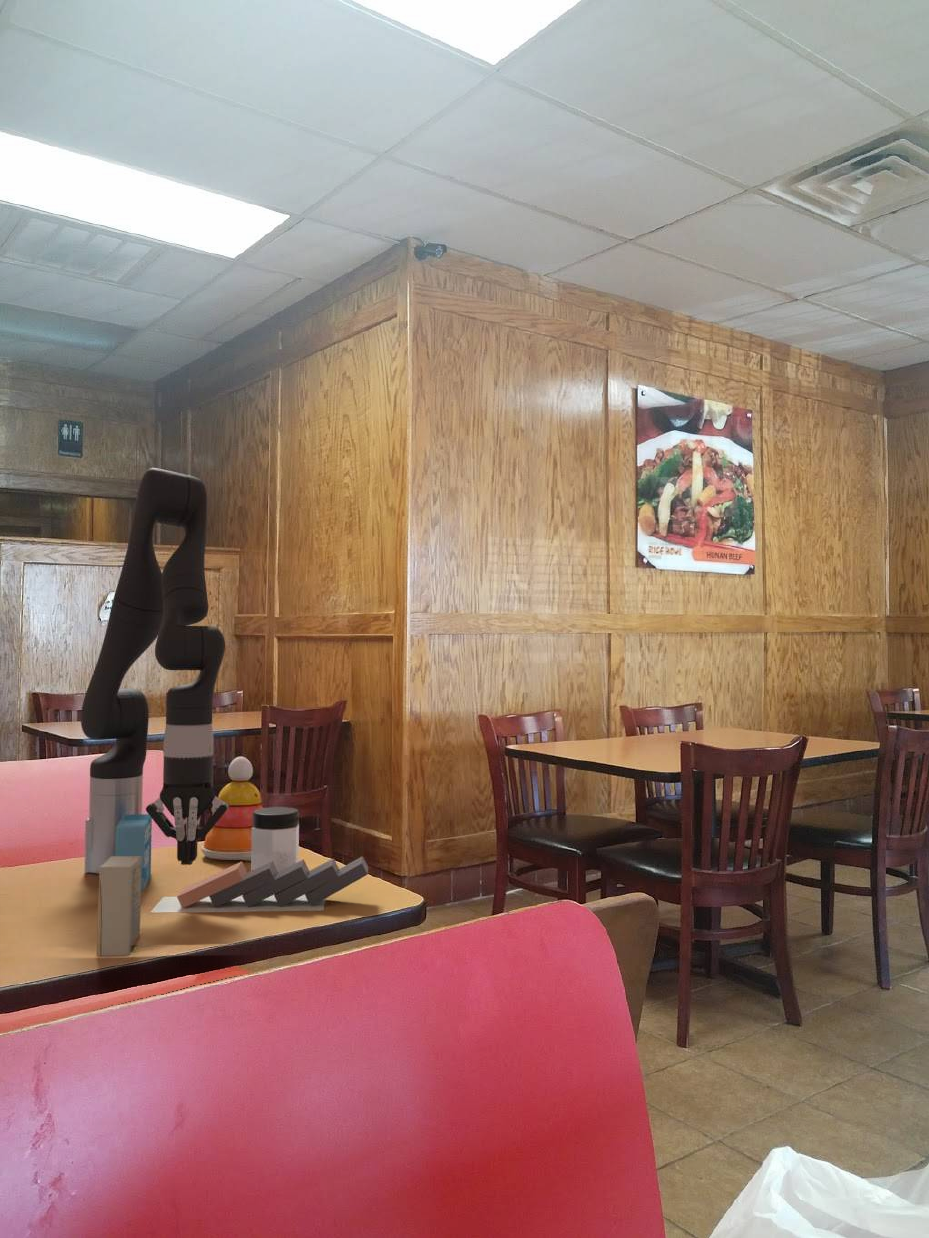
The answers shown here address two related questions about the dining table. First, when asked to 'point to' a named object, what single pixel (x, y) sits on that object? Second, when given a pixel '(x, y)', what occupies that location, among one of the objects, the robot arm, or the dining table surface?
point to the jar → (275, 837)
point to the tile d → (309, 882)
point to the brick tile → (212, 884)
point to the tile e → (339, 881)
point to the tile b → (246, 884)
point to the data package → (136, 841)
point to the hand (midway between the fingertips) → (186, 863)
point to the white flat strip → (235, 905)
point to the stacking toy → (234, 816)
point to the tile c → (278, 883)
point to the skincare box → (119, 905)
